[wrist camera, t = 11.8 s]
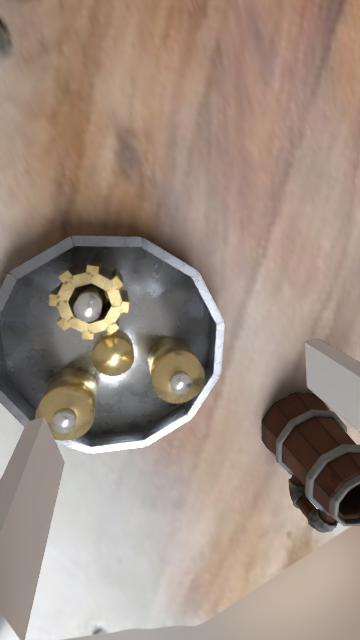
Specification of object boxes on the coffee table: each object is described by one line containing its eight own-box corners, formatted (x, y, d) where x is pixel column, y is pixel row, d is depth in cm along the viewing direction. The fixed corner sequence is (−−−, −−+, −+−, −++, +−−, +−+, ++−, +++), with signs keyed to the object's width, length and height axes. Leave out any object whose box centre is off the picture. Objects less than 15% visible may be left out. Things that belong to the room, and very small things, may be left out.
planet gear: (79, 247, 32) (71, 251, 27) (137, 279, 34) (141, 289, 29) (50, 303, 33) (37, 318, 28) (108, 330, 36) (106, 350, 30)
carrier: (59, 186, 31) (36, 170, 22) (249, 302, 40) (286, 324, 31) (-39, 389, 36) (-90, 442, 27) (152, 453, 44) (161, 510, 35)
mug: (271, 390, 45) (340, 462, 31) (335, 395, 48) (423, 464, 35) (244, 471, 49) (295, 567, 35) (304, 471, 53) (373, 560, 39)
